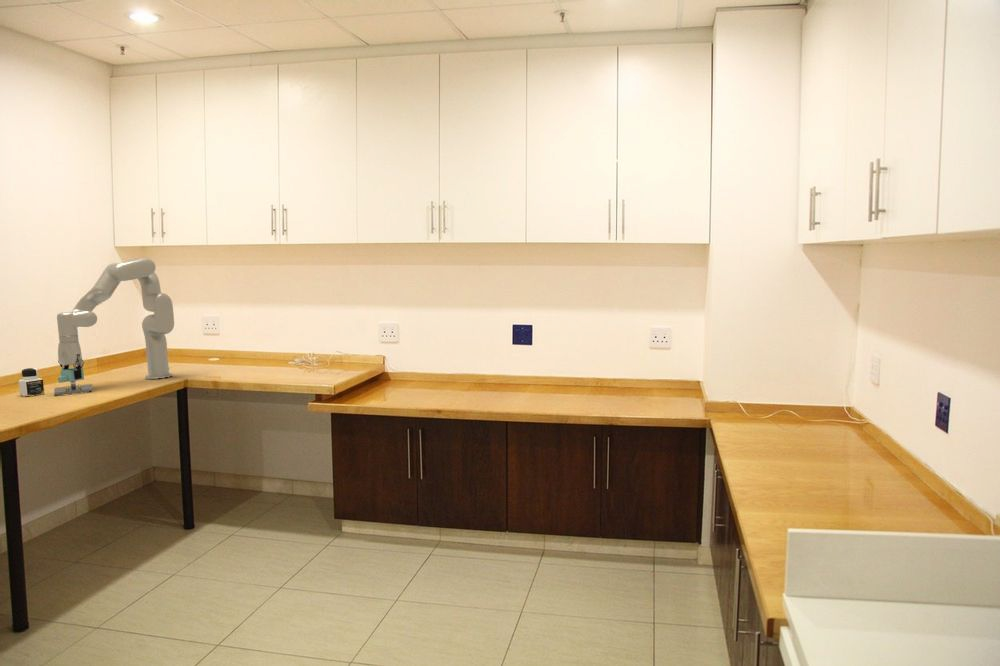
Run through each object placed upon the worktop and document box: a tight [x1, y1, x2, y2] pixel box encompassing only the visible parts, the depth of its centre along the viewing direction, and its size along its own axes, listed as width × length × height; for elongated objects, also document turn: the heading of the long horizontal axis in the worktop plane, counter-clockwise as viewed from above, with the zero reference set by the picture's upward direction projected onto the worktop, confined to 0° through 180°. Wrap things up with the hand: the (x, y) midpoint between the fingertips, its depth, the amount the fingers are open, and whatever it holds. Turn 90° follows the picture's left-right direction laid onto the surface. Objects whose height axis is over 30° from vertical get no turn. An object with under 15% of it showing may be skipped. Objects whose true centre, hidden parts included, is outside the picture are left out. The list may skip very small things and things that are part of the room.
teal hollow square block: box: [57, 367, 85, 384], centre depth 330 cm, size 9×6×5 cm
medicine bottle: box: [17, 367, 45, 397], centre depth 326 cm, size 7×7×12 cm
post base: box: [53, 381, 94, 396], centre depth 332 cm, size 15×15×6 cm
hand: (72, 378), depth 332 cm, fingers closed on teal hollow square block, 6 cm apart
